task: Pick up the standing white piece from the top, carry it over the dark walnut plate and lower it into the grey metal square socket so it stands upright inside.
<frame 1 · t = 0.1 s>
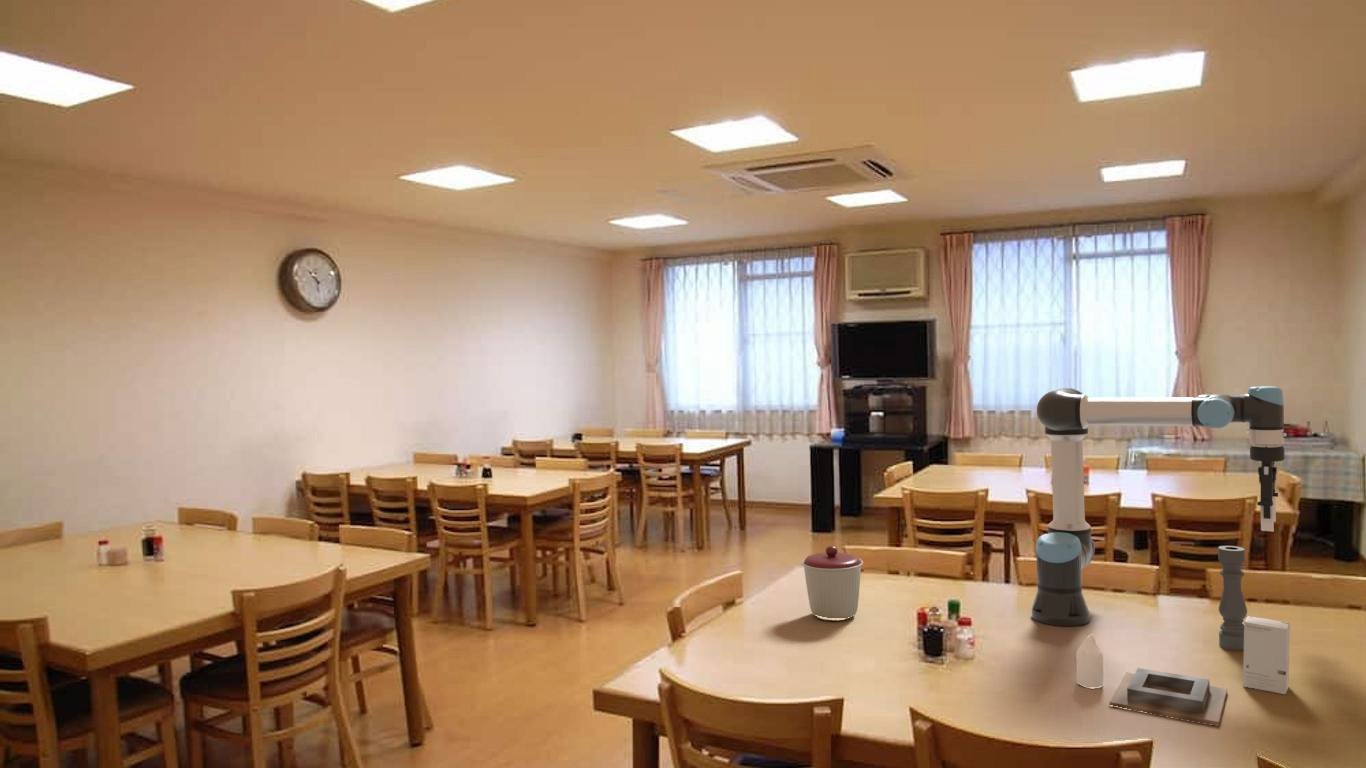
hand: (1268, 526, 228), 28 cm above the table, tool pointing down, fingers open, 13 cm apart
socket: (1169, 699, 189), on the table
skincare box: (1267, 688, 193), on the table
canister: (834, 617, 258), on the table
white piece: (1090, 685, 199), on the table
candle holder: (1233, 647, 219), on the table
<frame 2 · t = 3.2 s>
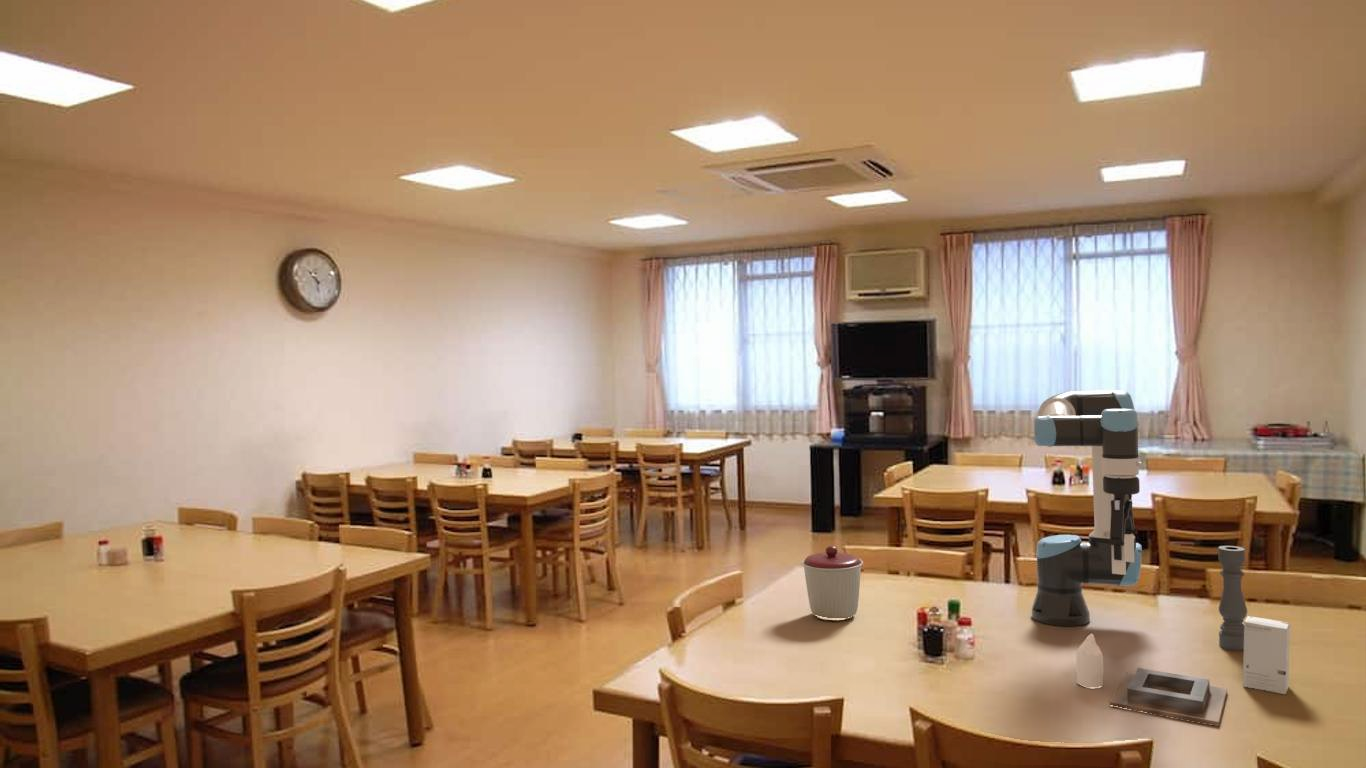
hand: (1123, 567, 200), 26 cm above the table, tool pointing down, fingers open, 13 cm apart
nothing on the table moved.
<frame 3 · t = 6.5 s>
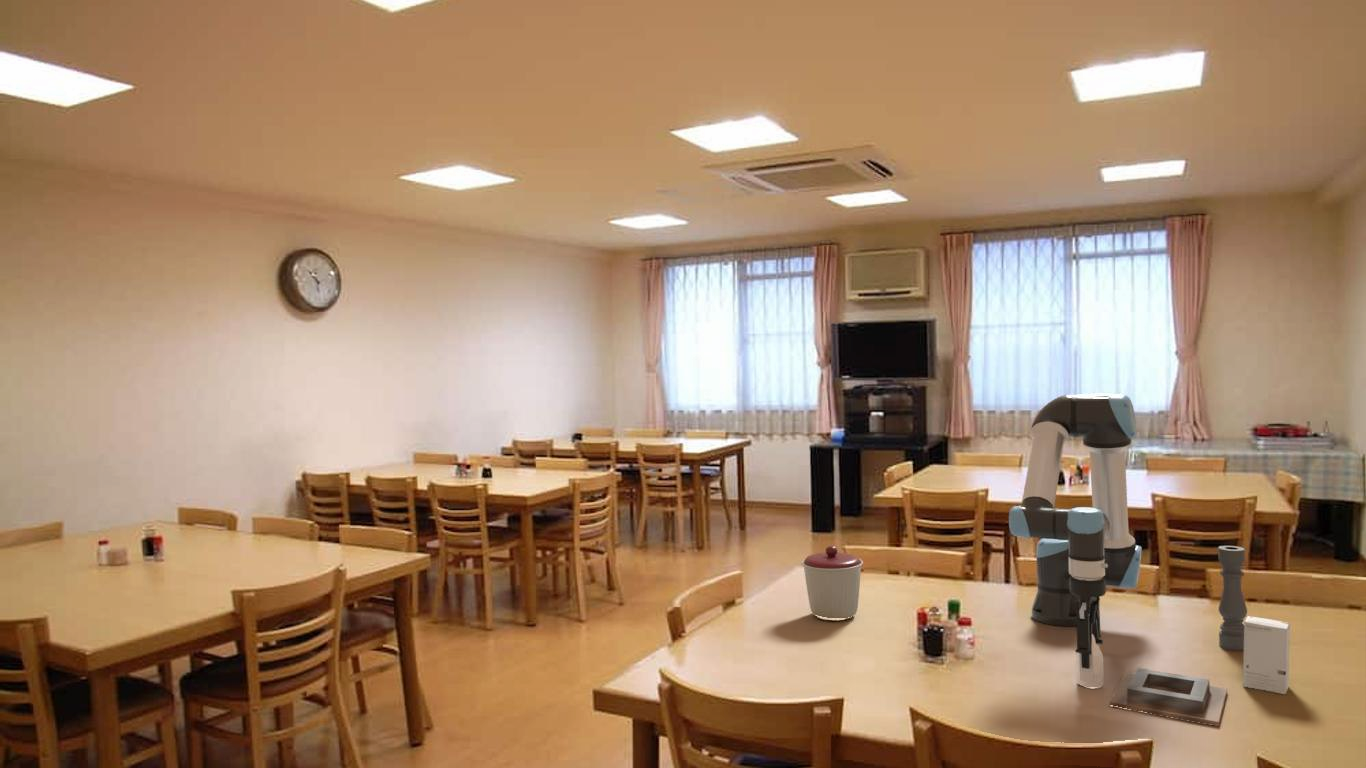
hand: (1090, 676, 199), 2 cm above the table, tool pointing down, fingers closed on white piece, 6 cm apart
white piece: (1090, 685, 199), on the table, touching gripper
everything else where it was.
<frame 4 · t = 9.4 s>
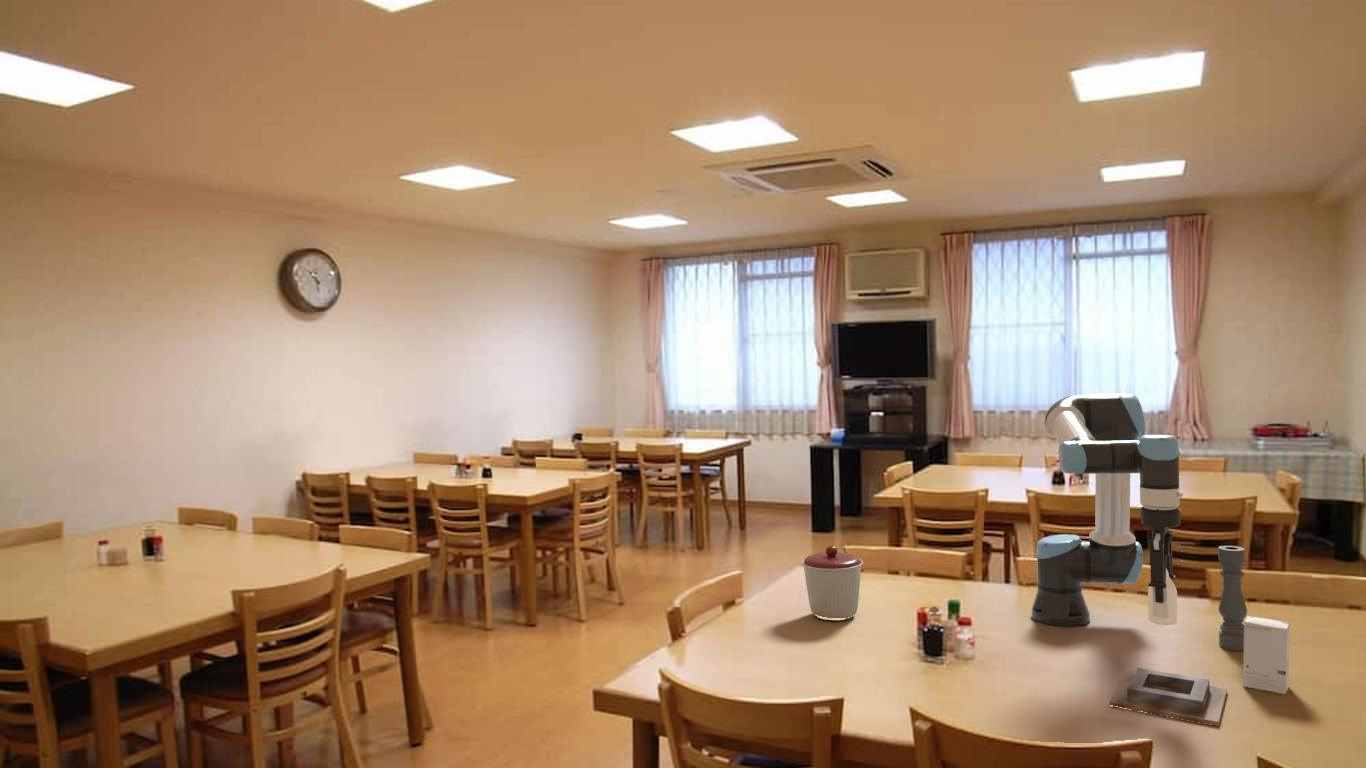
hand: (1163, 612, 188), 19 cm above the table, tool pointing down, fingers closed on white piece, 6 cm apart
white piece: (1163, 622, 188), point 17 cm above the table, touching gripper
everything else where it was.
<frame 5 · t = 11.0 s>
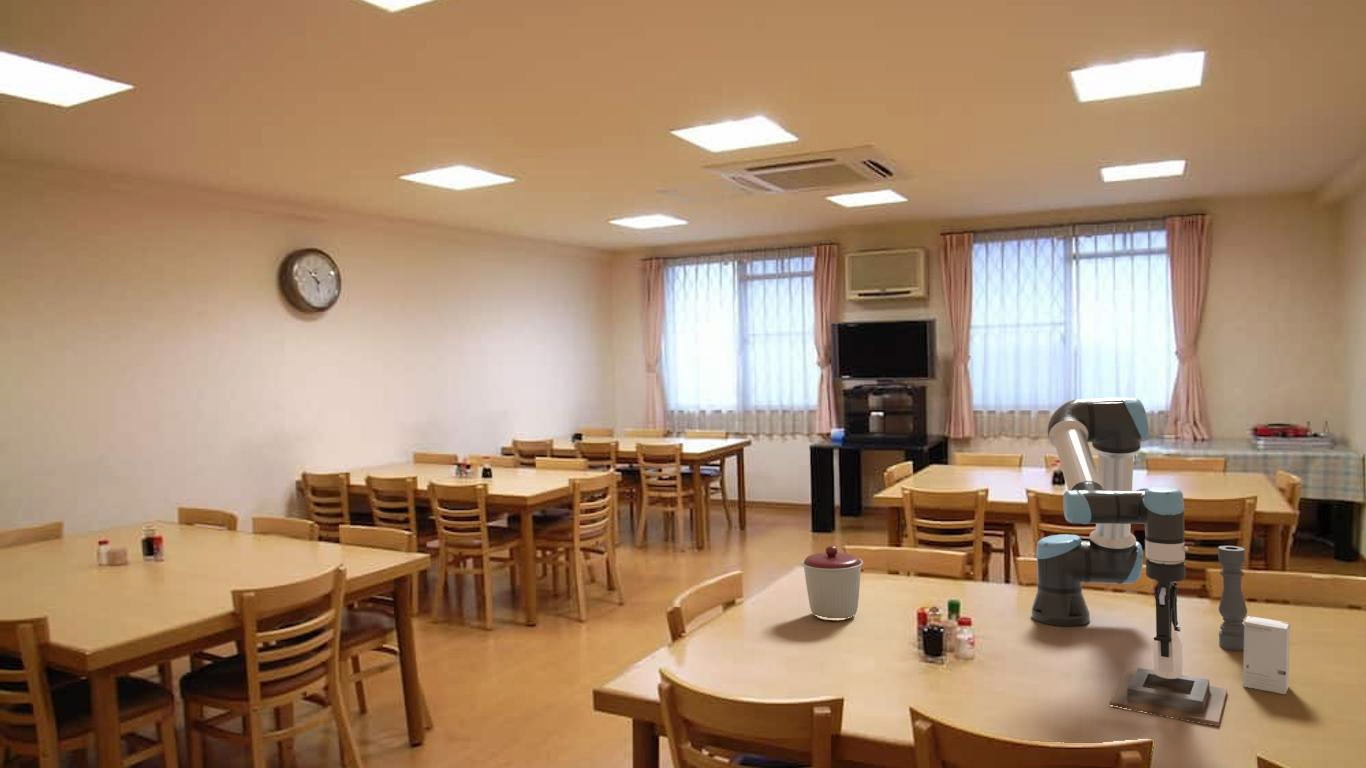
hand: (1168, 665, 188), 8 cm above the table, tool pointing down, fingers closed on white piece, 6 cm apart
white piece: (1168, 675, 189), point 5 cm above the table, touching gripper
everything else where it was.
when the fingers open (4 cm above the table, at t = 12.3 s): white piece drops 1 cm, resting on socket.
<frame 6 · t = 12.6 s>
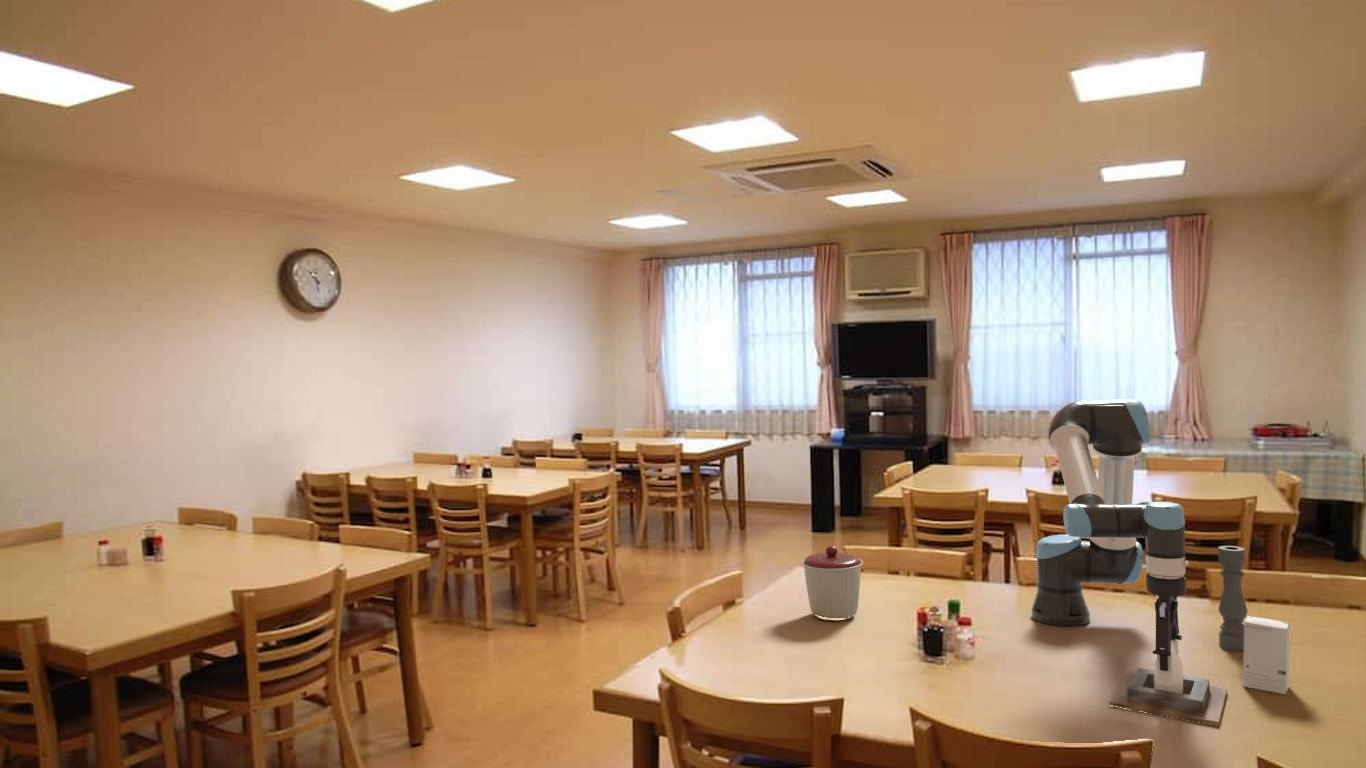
hand: (1168, 676, 189), 5 cm above the table, tool pointing down, fingers open, 9 cm apart
white piece: (1168, 695, 189), point 1 cm above the table, touching socket
everything else where it was.
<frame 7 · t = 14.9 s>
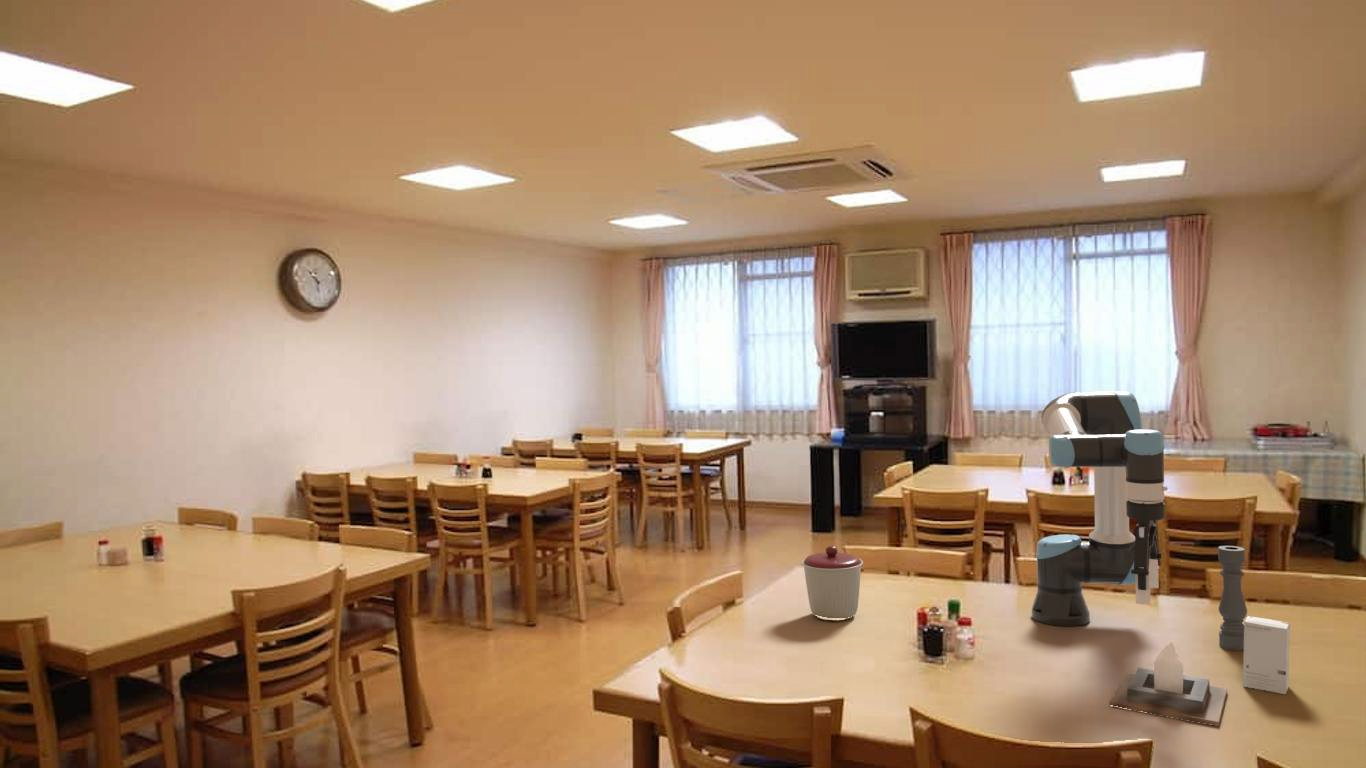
hand: (1147, 595, 192), 22 cm above the table, tool pointing down, fingers open, 13 cm apart
nothing on the table moved.
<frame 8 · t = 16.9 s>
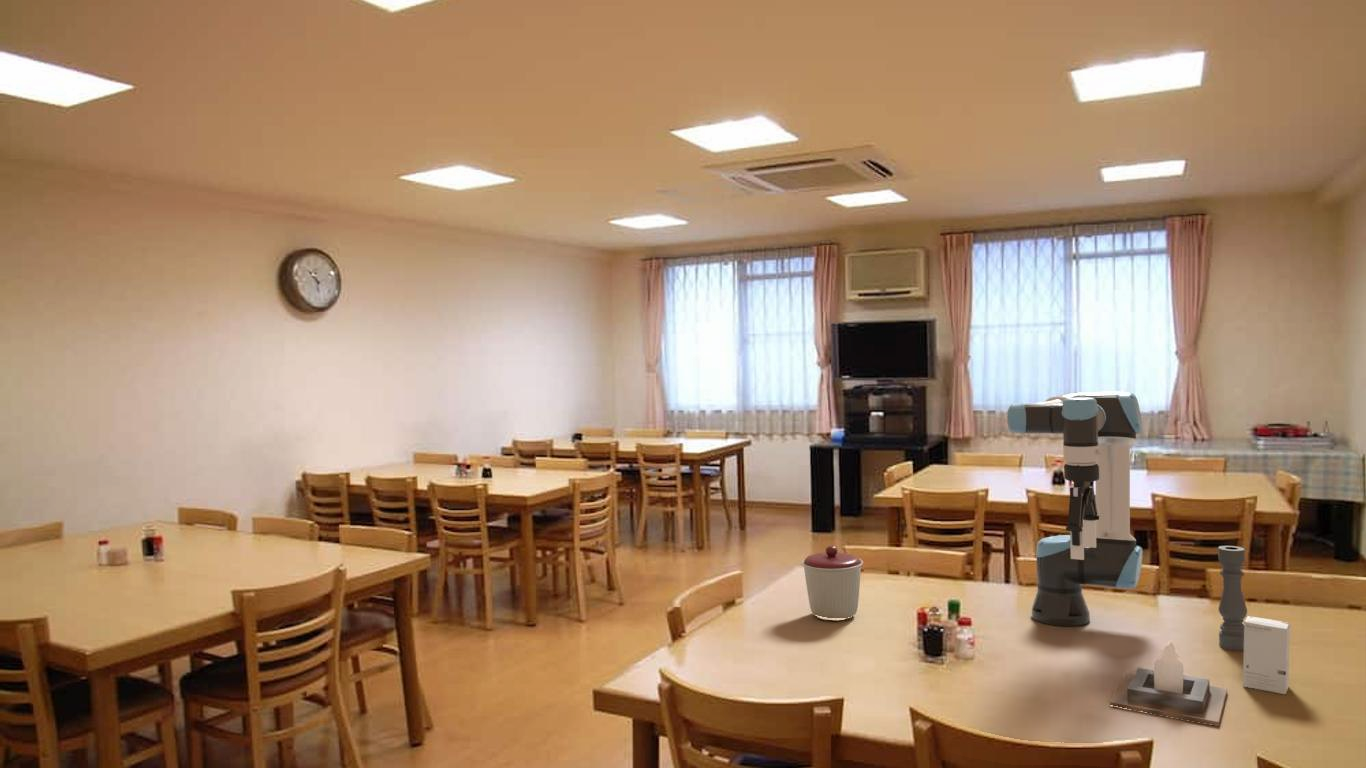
hand: (1083, 553, 205), 29 cm above the table, tool pointing down, fingers open, 13 cm apart
nothing on the table moved.
at the end: white piece 0.3 cm off-centre on the socket, point 0.8 cm above the socket's base; white piece tilted 0°; the gripper is holding nothing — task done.
